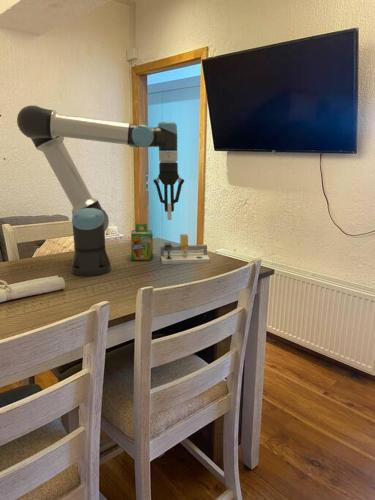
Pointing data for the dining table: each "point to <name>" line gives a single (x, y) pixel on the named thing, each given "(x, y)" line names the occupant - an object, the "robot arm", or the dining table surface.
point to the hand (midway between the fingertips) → (169, 219)
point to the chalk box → (141, 243)
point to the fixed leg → (168, 248)
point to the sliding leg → (184, 243)
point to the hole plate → (189, 257)
